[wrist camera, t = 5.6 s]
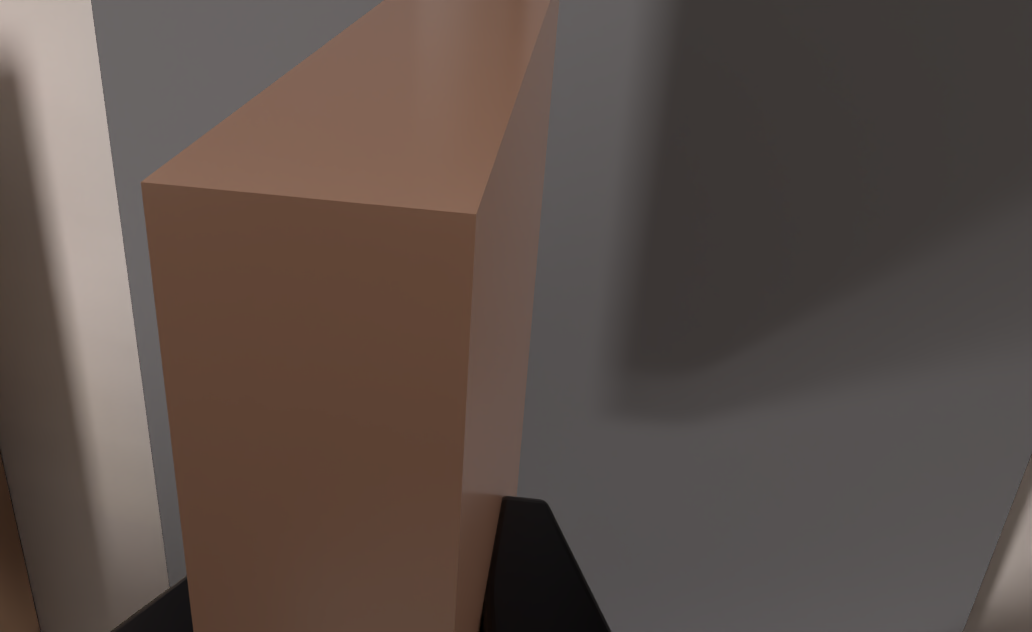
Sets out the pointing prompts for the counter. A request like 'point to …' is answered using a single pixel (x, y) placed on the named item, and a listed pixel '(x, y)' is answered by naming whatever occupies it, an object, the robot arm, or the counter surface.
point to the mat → (717, 289)
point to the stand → (13, 571)
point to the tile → (356, 321)
